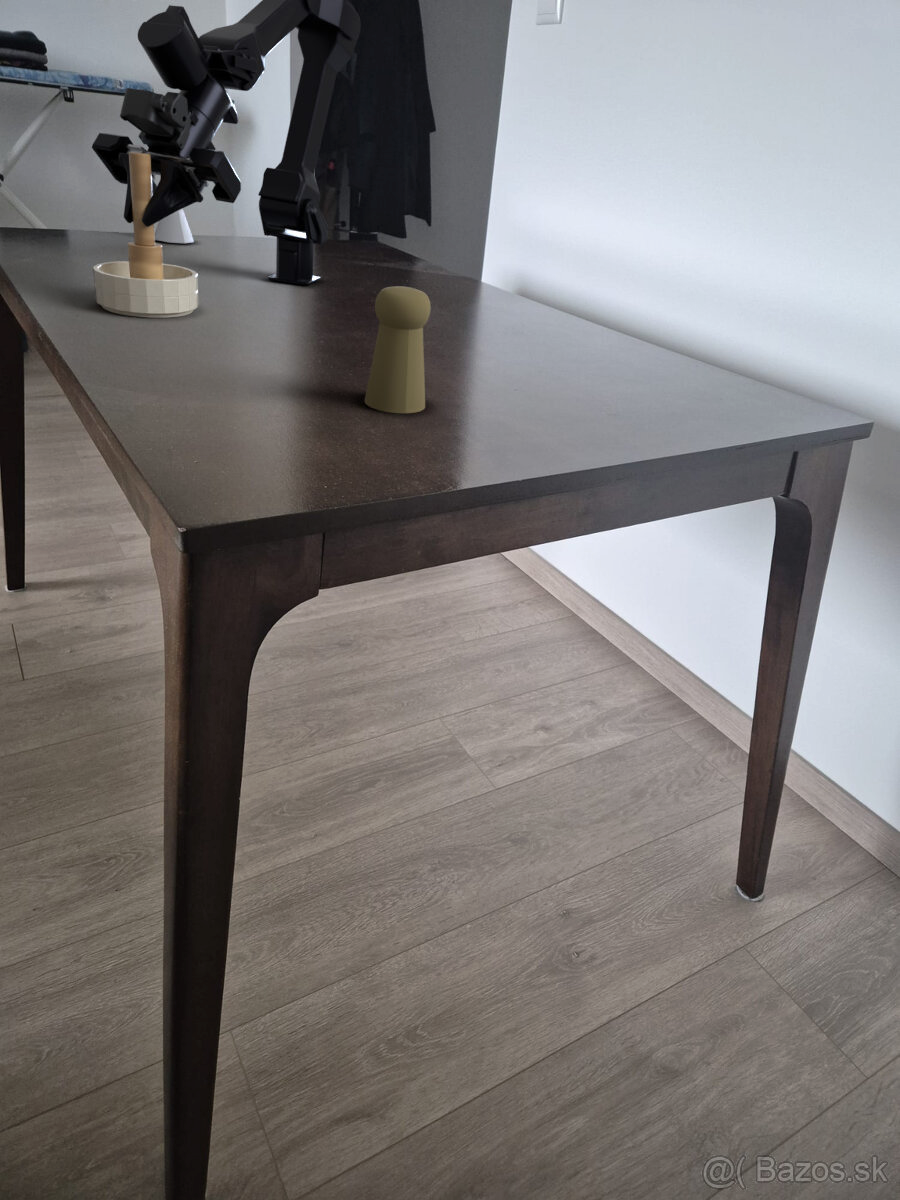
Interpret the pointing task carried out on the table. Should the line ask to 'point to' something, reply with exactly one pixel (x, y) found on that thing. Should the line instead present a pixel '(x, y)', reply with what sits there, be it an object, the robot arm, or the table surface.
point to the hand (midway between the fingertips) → (135, 222)
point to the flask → (174, 229)
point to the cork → (399, 351)
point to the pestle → (143, 249)
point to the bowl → (146, 291)
